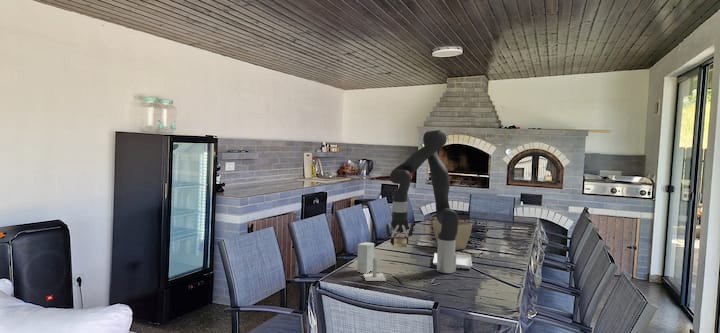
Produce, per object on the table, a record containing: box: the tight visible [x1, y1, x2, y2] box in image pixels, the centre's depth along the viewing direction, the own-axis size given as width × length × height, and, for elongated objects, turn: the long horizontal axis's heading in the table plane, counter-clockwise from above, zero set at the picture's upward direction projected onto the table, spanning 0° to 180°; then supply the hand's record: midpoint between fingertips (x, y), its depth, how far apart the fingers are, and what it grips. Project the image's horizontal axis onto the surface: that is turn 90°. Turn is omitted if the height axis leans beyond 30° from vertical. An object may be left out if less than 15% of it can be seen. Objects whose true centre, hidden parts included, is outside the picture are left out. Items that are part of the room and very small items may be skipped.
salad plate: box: [432, 252, 473, 270], centre depth 245 cm, size 21×21×3 cm
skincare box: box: [356, 241, 375, 274], centre depth 226 cm, size 8×6×15 cm
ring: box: [392, 235, 408, 248], centre depth 212 cm, size 6×6×4 cm
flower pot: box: [432, 219, 473, 251], centre depth 284 cm, size 19×19×17 cm
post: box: [362, 257, 387, 282], centre depth 215 cm, size 10×10×10 cm
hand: (399, 244), depth 212 cm, fingers closed on ring, 6 cm apart
